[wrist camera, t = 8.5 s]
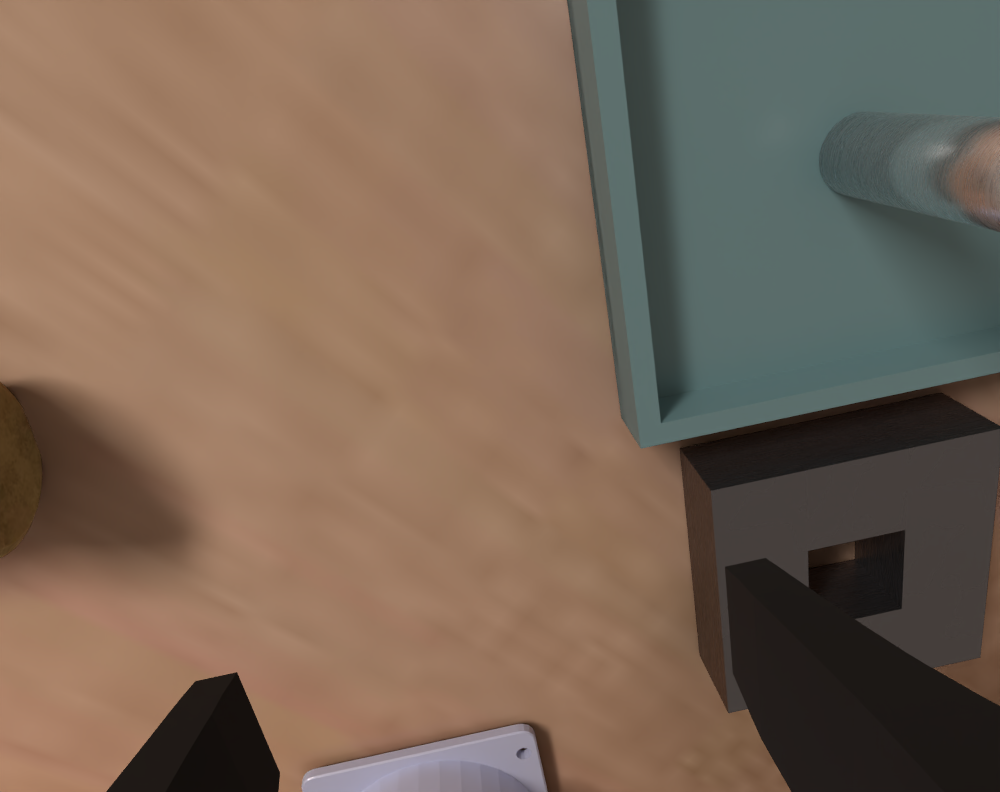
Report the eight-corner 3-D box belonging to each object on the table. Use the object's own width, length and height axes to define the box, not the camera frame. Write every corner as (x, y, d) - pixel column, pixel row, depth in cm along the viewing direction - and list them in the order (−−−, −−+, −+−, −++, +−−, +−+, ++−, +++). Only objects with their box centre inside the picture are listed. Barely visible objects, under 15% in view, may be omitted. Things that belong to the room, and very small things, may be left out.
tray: (1064, 323, 21) (1125, 345, 19) (621, 417, 21) (641, 448, 19) (1137, -241, 16) (1230, -284, 14) (550, -127, 16) (568, -156, 14)
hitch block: (928, 605, 25) (980, 657, 23) (699, 655, 25) (728, 713, 22) (941, 392, 22) (1003, 428, 19) (679, 448, 22) (710, 490, 19)
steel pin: (918, 209, 19) (1296, 297, 11) (792, 234, 19) (1080, 342, 11) (926, 68, 18) (1365, 49, 10) (791, 93, 17) (1119, 96, 9)
